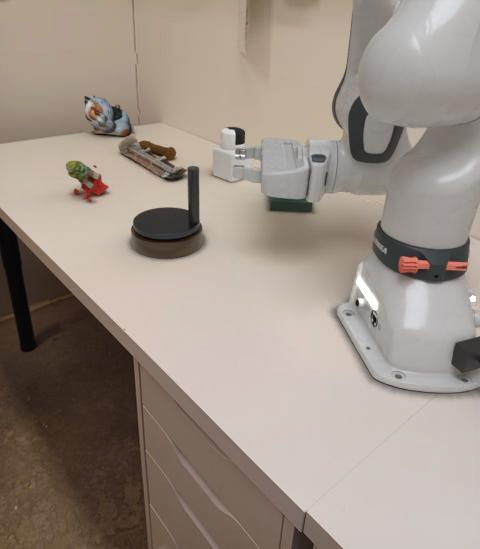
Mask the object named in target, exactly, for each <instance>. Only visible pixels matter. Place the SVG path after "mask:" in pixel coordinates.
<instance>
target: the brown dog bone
mask: <svg viewBox="0 0 480 549" xmlns="http://www.w3.org/2000/svg"><path fill="white" fill-rule="evenodd" d="M138 142H139V144H140V146H141V148H142V149H144V150H145V149H147V148H150V150H151V152H152V153H153V154H157V155H160V156H165V157H166V159H167V160H168V161H173V160H174V159H175V158H176V156H177V151H176V148H174V147H173V146H168V147H167V146H162V145H159V144H155V143H153V142H151V141H149V140H145V139H144V140H140V141H138Z"/></svg>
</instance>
